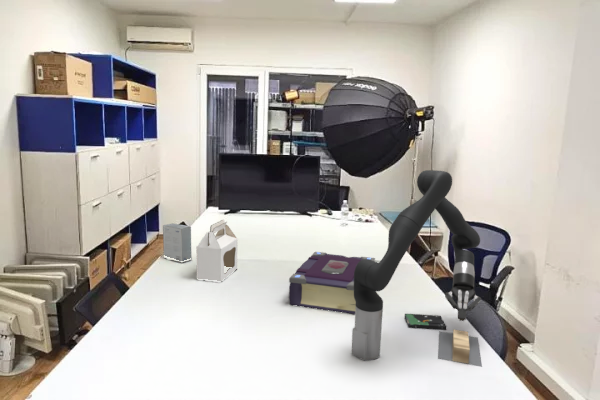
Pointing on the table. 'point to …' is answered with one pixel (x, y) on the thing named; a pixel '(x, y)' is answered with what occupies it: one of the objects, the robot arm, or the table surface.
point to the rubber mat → (446, 349)
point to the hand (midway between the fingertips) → (461, 320)
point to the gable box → (217, 253)
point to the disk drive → (425, 321)
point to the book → (325, 283)
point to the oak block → (460, 346)
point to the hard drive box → (177, 241)
